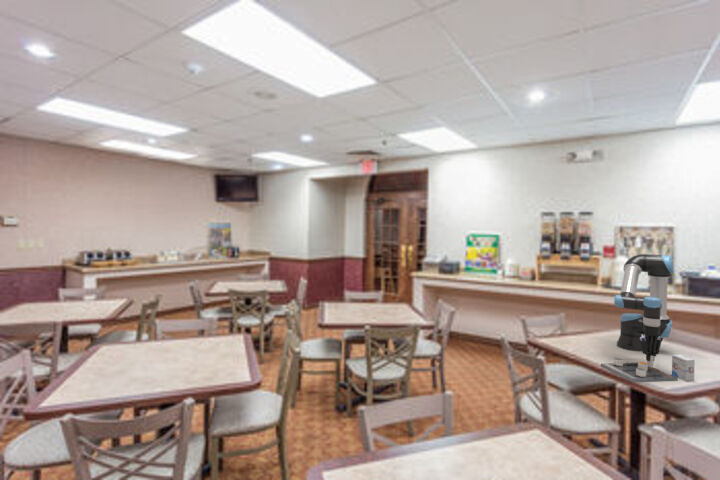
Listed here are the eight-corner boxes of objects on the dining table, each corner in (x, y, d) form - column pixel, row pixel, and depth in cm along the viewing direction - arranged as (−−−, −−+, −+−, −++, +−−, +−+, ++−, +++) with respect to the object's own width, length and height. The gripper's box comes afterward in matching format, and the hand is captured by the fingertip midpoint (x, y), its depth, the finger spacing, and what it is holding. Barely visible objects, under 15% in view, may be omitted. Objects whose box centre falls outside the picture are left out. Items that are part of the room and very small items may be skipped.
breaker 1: (618, 363, 208) (618, 357, 208) (622, 365, 205) (623, 359, 205) (613, 363, 208) (614, 357, 207) (618, 365, 205) (618, 359, 204)
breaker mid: (642, 368, 201) (642, 362, 201) (647, 370, 198) (647, 364, 198) (637, 368, 201) (638, 362, 201) (642, 370, 198) (642, 364, 198)
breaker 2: (641, 374, 193) (641, 367, 193) (645, 376, 190) (646, 369, 190) (635, 374, 193) (636, 367, 192) (640, 376, 190) (640, 370, 189)
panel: (641, 364, 211) (641, 362, 211) (677, 380, 189) (677, 377, 189) (600, 366, 209) (600, 363, 209) (632, 382, 187) (632, 379, 187)
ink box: (670, 375, 197) (671, 354, 196) (679, 374, 197) (679, 353, 197) (686, 381, 188) (686, 359, 188) (694, 381, 189) (695, 359, 188)
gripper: (655, 323, 203) (654, 363, 204) (634, 323, 202) (633, 364, 203) (668, 326, 196) (666, 368, 196) (646, 327, 195) (645, 369, 195)
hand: (649, 366), depth 200 cm, fingers closed
